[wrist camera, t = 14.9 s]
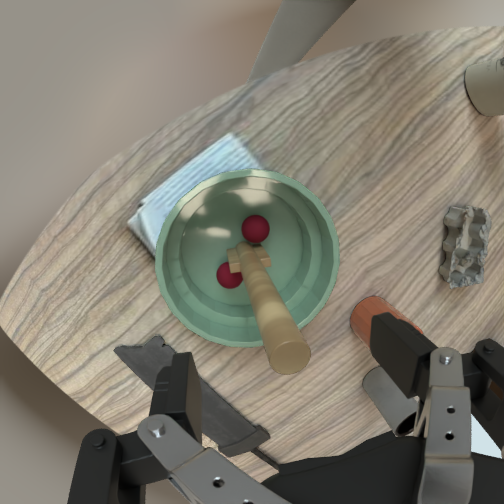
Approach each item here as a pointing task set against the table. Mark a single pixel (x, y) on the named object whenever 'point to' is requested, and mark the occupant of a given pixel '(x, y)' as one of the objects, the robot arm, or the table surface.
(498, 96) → the travel mug
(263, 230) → the bead
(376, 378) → the grey tube
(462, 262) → the egg carton
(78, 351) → the table surface
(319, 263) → the bowl
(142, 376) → the toy broadsword
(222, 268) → the bead
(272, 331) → the wooden stick
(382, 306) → the utensil pot
